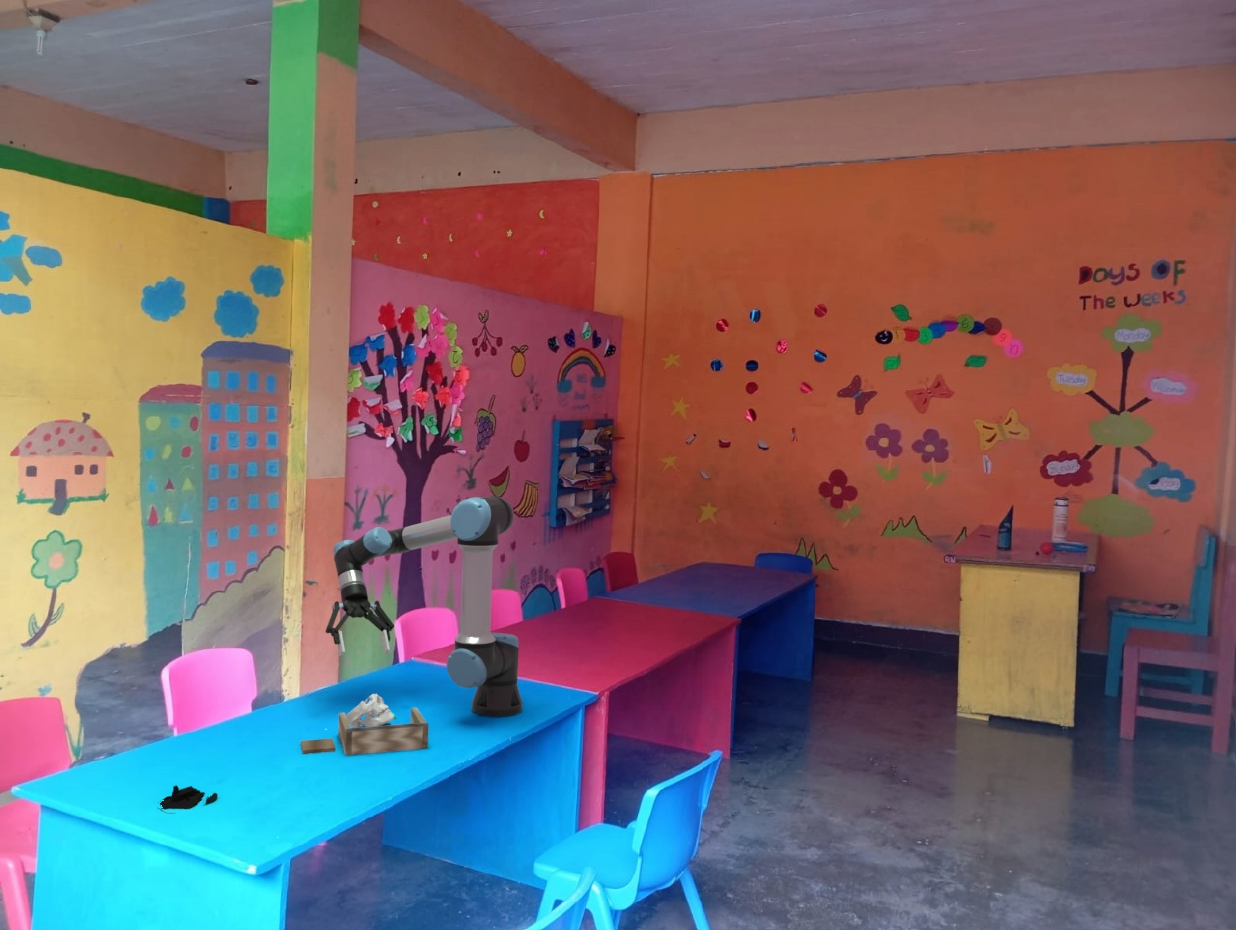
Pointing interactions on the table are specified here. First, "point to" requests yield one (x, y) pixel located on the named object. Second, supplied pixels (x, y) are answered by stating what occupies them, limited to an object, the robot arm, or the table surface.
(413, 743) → the brown wooden box
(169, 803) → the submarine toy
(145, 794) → the table surface
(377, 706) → the white rock
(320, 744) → the lid plate
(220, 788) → the table surface
